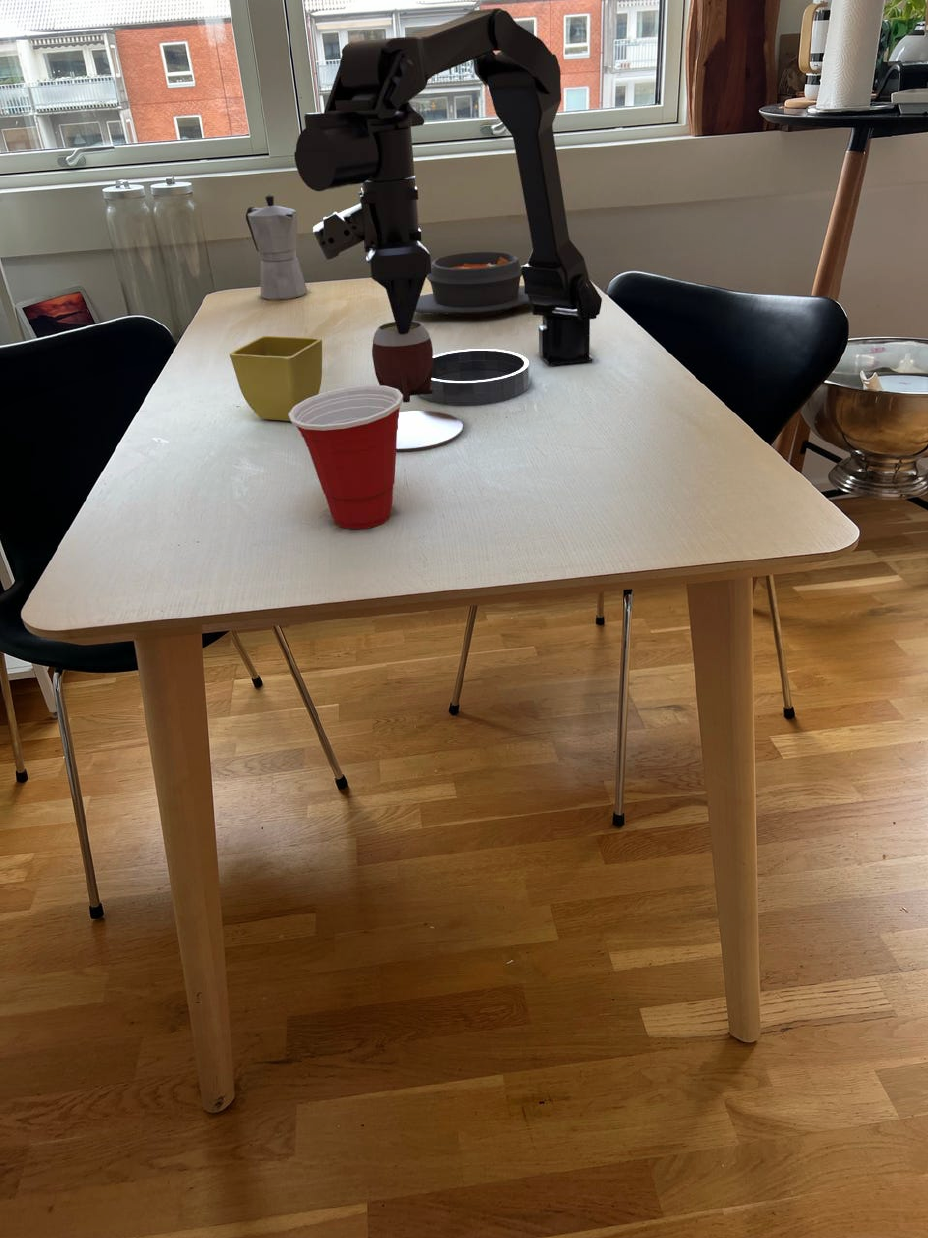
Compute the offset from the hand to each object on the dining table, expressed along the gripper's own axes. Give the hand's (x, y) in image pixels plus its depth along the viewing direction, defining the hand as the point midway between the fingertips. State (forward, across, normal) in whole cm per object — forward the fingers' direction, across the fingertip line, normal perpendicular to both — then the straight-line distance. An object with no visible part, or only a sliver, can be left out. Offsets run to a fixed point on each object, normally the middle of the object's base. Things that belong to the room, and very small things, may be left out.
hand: (401, 327), depth 107 cm
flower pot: (+13, -11, -15) cm, 22 cm away
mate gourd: (+8, 0, 0) cm, 8 cm away
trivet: (+12, 0, 0) cm, 12 cm away
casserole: (+13, -58, +17) cm, 61 cm away
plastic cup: (+12, +23, -7) cm, 27 cm away
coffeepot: (+13, -86, -18) cm, 89 cm away
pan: (+12, -15, +10) cm, 22 cm away
